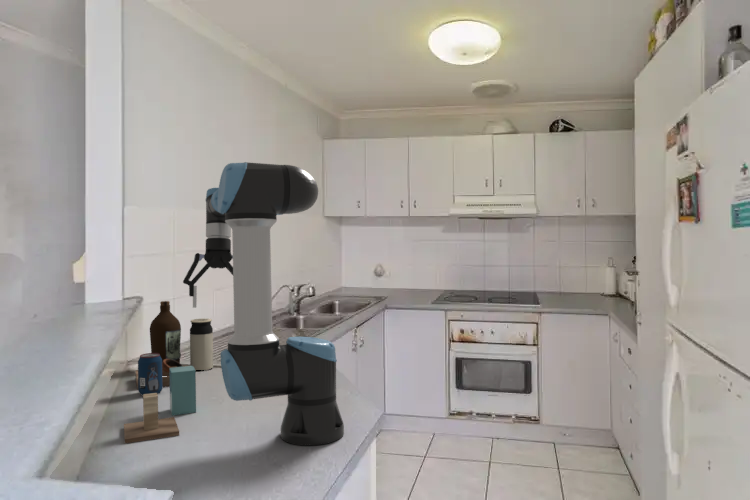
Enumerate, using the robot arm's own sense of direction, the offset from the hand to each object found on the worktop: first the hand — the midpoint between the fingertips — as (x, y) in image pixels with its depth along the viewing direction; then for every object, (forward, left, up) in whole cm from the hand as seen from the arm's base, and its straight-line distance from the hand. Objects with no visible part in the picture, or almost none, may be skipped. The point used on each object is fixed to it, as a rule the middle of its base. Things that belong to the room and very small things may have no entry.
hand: (217, 307), depth 170 cm
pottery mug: (+24, +14, -27) cm, 38 cm away
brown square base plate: (-27, +21, -27) cm, 44 cm away
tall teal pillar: (-13, +12, -27) cm, 32 cm away
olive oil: (+41, +12, -27) cm, 50 cm away
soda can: (+10, +19, -27) cm, 34 cm away
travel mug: (+37, 0, -27) cm, 45 cm away
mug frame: (+24, +14, -27) cm, 38 cm away
